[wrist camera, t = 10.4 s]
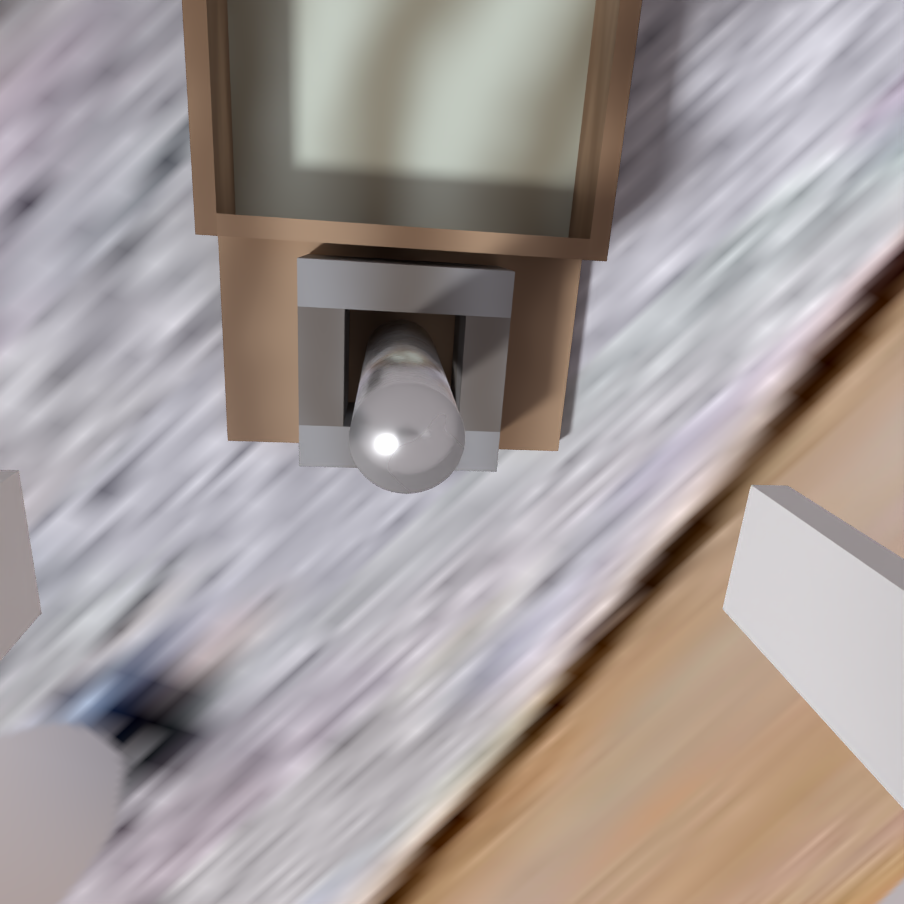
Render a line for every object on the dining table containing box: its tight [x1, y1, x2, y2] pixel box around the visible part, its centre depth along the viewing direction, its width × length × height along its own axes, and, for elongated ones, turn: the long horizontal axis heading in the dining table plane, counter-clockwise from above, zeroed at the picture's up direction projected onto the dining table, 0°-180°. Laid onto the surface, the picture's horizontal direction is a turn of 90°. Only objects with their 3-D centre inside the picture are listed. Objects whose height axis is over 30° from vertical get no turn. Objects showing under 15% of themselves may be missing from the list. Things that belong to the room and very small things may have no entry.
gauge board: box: [182, 0, 642, 472], centre depth 26 cm, size 16×28×5 cm, turn 176°
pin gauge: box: [349, 319, 465, 494], centre depth 24 cm, size 3×3×13 cm
